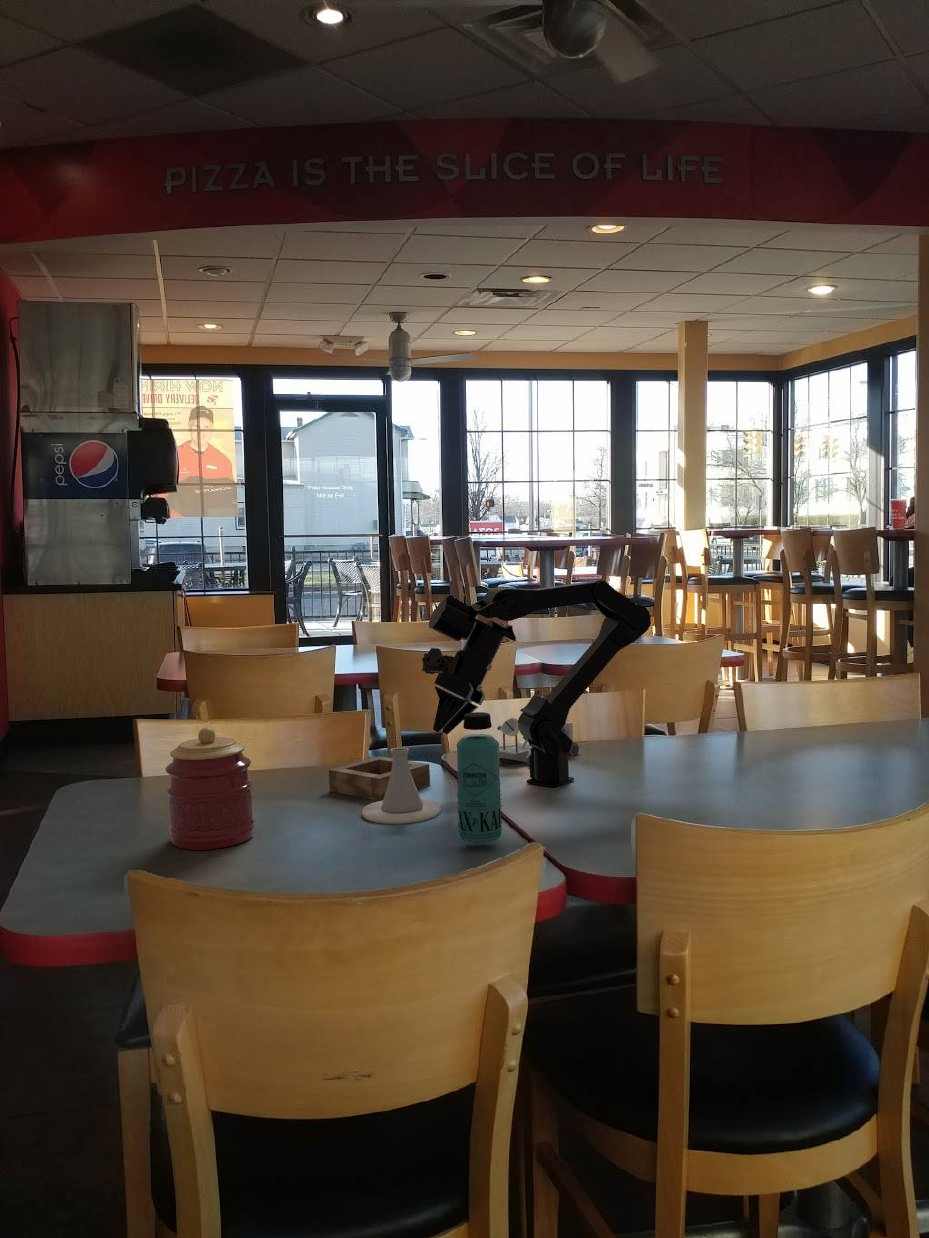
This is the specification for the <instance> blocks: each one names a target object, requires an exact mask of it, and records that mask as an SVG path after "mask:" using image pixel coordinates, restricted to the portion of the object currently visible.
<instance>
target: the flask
mask: <svg viewBox="0 0 929 1238" xmlns="http://www.w3.org/2000/svg"><path fill="white" fill-rule="evenodd" d="M389 751H390V753H389V754H391V757H392V770H391V775H390V779H389V783H388V786H387V790H386V793H385V796H384V800H382V801H383V803H382V807H381V810H384V811H387V812H390V813H394V812H410V811H414V810H418V809H422V807H423V803H422V801H421V799H422V798H421V796H420V793H419V791H418V789H417V788H416V786H415V783H414V781H413V778H412V775H411V773H410V769H409V764H408V761H409V760H408V754H409V752H410V748H408V747H394V748H390V750H389Z"/></svg>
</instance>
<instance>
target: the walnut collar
mask: <svg viewBox="0 0 929 1238" xmlns="http://www.w3.org/2000/svg"><path fill="white" fill-rule="evenodd" d="M408 764H409V769H410V773H411V775H412V778H413V781H414V783H415V786H416V788H417V790H420V789H423V788H427V787H431V777H430V776H431V772H430V771H431V770H430V764H429V763H423V762H418V761H414V760H413V761H412V760H408ZM391 770H392V758H391V757H386V756H380V755H378V756H374V757H372V758H368V759H364V760H360V761H356V762H353V763H349V764H345V765H342V766H338V767H334V768H331V769H330V768H329V769H328V783H329V792H331V793H338V794H343V795H348V796H352V797H358V798H364V799H367V800H373V801H376V802H378V801H383V800H384V796H385V793H386V790H387V786H388V783H389V779H390V775H391Z"/></svg>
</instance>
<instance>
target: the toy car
mask: <svg viewBox="0 0 929 1238" xmlns="http://www.w3.org/2000/svg"><path fill="white" fill-rule="evenodd" d="M573 727H574V726H573V722H571V721H570V722H569V721H566V723H565V725H564V727H563V729H562V730H561V731H562V732H563V733H565V734H566V735H567V736H568V737H569V738H570V739H571V740H572V741H573V742H572V746H571V749H570V752H568V757H572V756H575V755H578V754H579V751H580V747H579V746H580V745H579V744H578V742H575V741H574V734H573V733H574V729H573ZM496 729H497V731H500V732H501V734H502V747H499V759H500V758H501V759H505V760H513V761H518V762H523V763H526V764H527V766H528V767H529V768H530V764H529V756H530V755H531V748H534V747H533V746H530V745H529V743H528V741H527V738H525V737H524V736H522V739H523V740H521V741H518V734H519V733H520V731H519V728H518V718H516V717H511V718H508V719H507V720H505V721H504V722H503V723H502V724H498V726H497V728H496ZM506 736H509V737H515V739H514V740H515V741H514V742H515V746H511V747H510V746H509V747H508V746H506Z"/></svg>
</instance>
